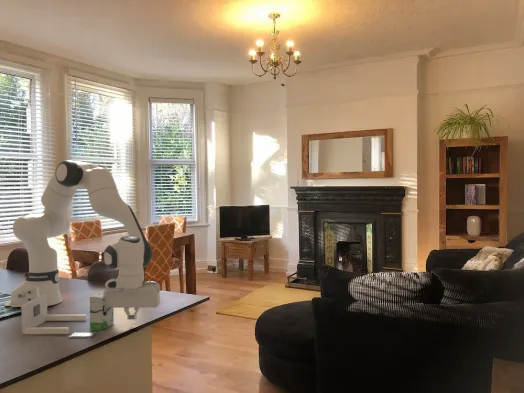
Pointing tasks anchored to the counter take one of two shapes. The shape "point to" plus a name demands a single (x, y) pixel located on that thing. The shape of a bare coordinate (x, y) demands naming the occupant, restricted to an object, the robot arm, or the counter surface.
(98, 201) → the robot arm
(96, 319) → the ink box
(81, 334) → the picture frame
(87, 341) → the counter surface
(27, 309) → the dock
